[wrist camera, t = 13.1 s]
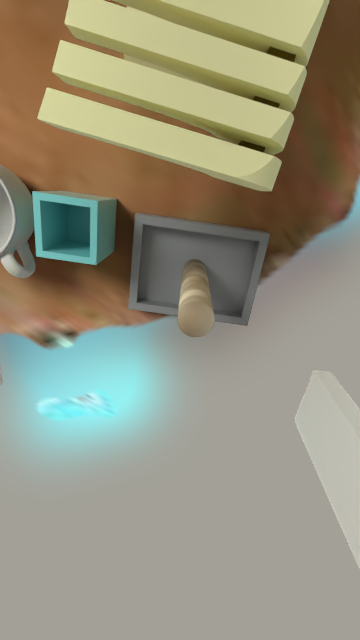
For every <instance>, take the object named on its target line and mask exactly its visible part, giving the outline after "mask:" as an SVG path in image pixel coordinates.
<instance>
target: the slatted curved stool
mask: <svg viewBox="0 0 360 640" xmlns="http://www.w3.org/2000/svg"><path fill="white" fill-rule="evenodd" d="M112 1H115V2H118V3H121V4H123V5H126V6H127V8H125V7H122V6H119V5H116V4H113V3H110V2H107V1H104V0H69V4H68V9H67V13H66V18H65V22H64V24H65V25H66V26H67V28H68V29H69V30H70V32H71V33H72V34H73V35H74V37H75V38H77V39H80V40H83V41H86V42H89V43H92V44H95V45H98V46H101V47H105V48H108V49H111V50H114V51H117V52H120V53H123V54H124V60H123V59H120V58H117V57H114V56H110V55H107V54H104V53H101V52H98V51H94V50H91V49H88V48H85V47H82V46H79V45H75V44H72V43H69V42H66V41H63V40H60V43H59V46H58V50H57V54H56V58H55V61H54V65H53V69H52V72H53V73H54V74H55V75H56V76H58V77H59V78H60V79H61V80H62V81H64V82H65V83H66V84H69V85H73V86H76V87H79V88H82V89H86V90H89V91H92V92H95V93H98V94H102V95H105V96H108V97H111V98H114V99H117V100H120V101H124V102H127V103H130V104H133V105H136V106H139V107H142V108H145V109H148V110H151V111H154V112H157V113H160V114H163V115H166V116H169V117H171V118H174V119H177V120H180V121H183V122H185V123H188V124H190V125H193V126H195V127H198V128H200V129H203V130H205V131H207V132H209V133H211V134H213V135H214V136H216V137H217V138H219V139H216V138H213V137H210V136H206V135H203V134H200V133H196V132H193V131H190V130H187V129H183V128H180V127H177V126H173V125H170V124H167V123H163V122H160V121H157V120H154V119H150V118H147V117H144V116H140V115H137V114H134V113H130V112H127V111H124V110H121V109H117V108H114V107H111V106H107V105H104V104H101V103H97V102H94V101H91V100H87V99H84V98H81V97H78V96H74V95H71V94H68V93H64V92H61V91H58V90H54V89H51V88H48V87H47V89H46V92H45V95H44V98H43V102H42V105H41V108H40V111H39V114H38V117H37V119H39V120H41V121H43V122H45V123H48V124H50V125H52V126H54V127H56V128H60V129H63V130H66V131H70V132H73V133H76V134H80V135H83V136H87V137H90V138H93V139H97V140H100V141H103V142H107V143H110V144H113V145H117V146H120V147H123V148H127V149H130V150H133V151H137V152H140V153H143V154H147V155H150V156H153V157H156V158H160V159H163V160H166V161H169V162H172V163H176V164H179V165H182V166H185V167H188V168H191V169H194V170H197V171H200V172H202V173H205V174H207V175H210V176H212V177H214V178H217V179H220V180H224V181H227V182H231V183H234V184H237V185H241V186H244V187H248V188H251V189H254V190H258V191H272V189H273V186H274V183H275V180H276V178H277V175H278V172H279V169H280V166H281V164H282V162H281V160H280V159H278V158H277V157H275V156H272V155H275V154H277V153H280V152H282V151H283V149H284V147H285V144H286V141H287V138H288V135H289V132H290V130H291V127H292V124H293V121H294V116H293V114H292V113H291V112H292V111H293V110H294V109H295V107H296V104H297V101H298V98H299V96H300V93H301V90H302V87H303V84H304V81H305V78H306V75H307V70H306V66H307V64H308V61H309V59H310V56H311V53H312V50H313V47H314V44H315V41H316V39H317V36H318V33H319V30H320V27H321V24H322V21H323V18H324V16H325V13H326V10H327V7H328V4H329V1H330V0H112ZM220 139H223V140H226V141H229V142H226V141H223V140H220ZM230 142H233V143H236V144H238V145H236V144H233V143H230ZM264 152H266V153H269V154H272V155H269V154H266V153H264Z"/></svg>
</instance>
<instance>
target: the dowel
mask: <svg viewBox="0 0 360 640" xmlns="http://www.w3.org/2000/svg"><path fill="white" fill-rule="evenodd" d="M177 322H178V326H179V328H180V330H181V331H182V332H183V333H184V334H186V335H188V336H191V337H201V336H204V335H206V334H207V333H209V332H210V331H211V329H212V328H213V326H214V322H215V318H214V312H213V306H212V301H211V295H210V289H209V283H208V277H207V272H206V267H205V265H204V263H203V262H202V261H200V260H197V259H192V260H189V261H188V262H187V263H186V264H185V265H184V267H183V275H182V283H181V292H180V300H179V309H178V318H177Z"/></svg>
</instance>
